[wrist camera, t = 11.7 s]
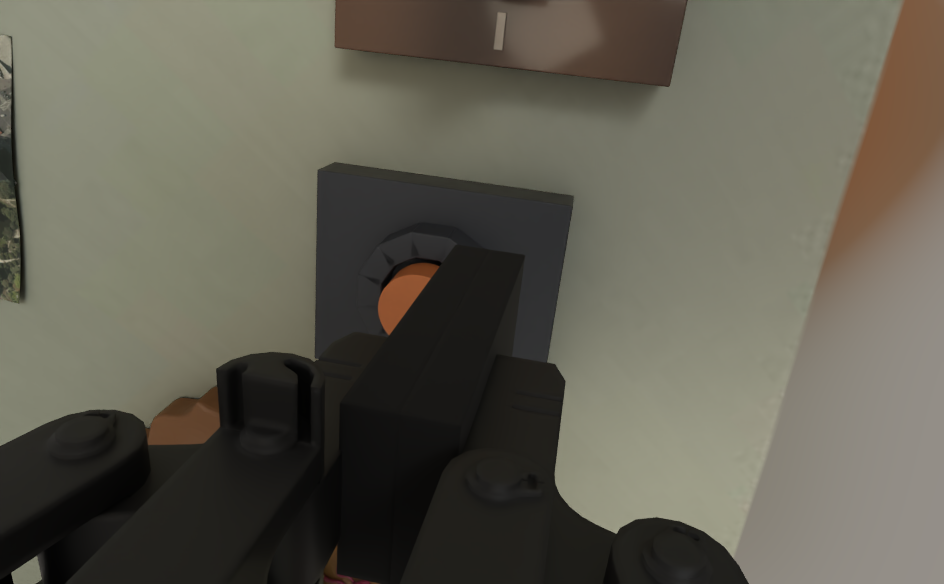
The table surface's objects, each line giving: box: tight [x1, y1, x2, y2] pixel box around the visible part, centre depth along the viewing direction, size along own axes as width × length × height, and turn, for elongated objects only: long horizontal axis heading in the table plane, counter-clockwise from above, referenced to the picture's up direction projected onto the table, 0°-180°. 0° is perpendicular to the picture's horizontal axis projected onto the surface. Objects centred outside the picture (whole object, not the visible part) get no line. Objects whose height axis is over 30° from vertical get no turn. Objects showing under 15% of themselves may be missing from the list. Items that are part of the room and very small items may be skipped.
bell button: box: [378, 263, 440, 335], centre depth 29 cm, size 4×4×2 cm
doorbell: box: [315, 162, 574, 363], centre depth 32 cm, size 12×10×4 cm
